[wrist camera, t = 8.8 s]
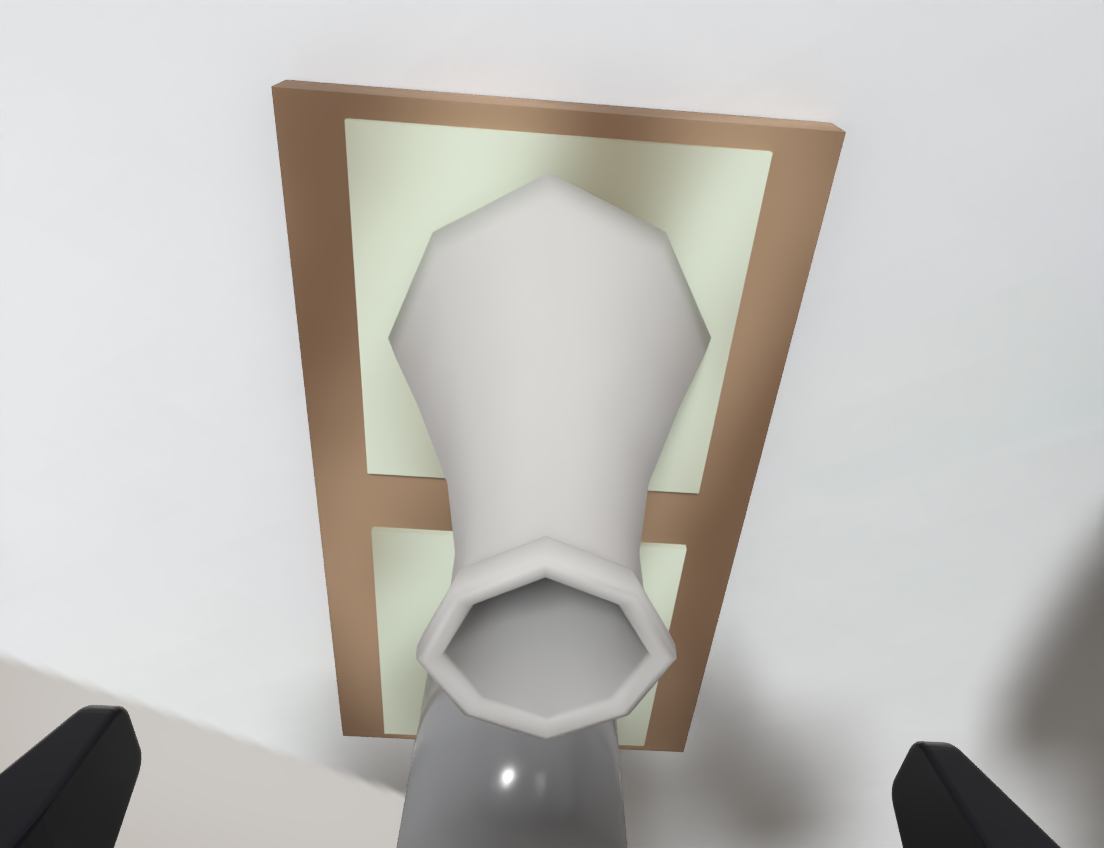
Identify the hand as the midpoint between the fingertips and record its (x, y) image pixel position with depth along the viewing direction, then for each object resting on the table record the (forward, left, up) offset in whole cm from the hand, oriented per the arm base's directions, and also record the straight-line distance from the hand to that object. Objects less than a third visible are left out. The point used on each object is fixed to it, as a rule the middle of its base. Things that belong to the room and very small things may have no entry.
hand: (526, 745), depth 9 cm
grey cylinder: (0, +11, -11) cm, 16 cm away
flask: (0, 0, -12) cm, 12 cm away
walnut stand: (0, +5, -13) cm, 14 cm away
